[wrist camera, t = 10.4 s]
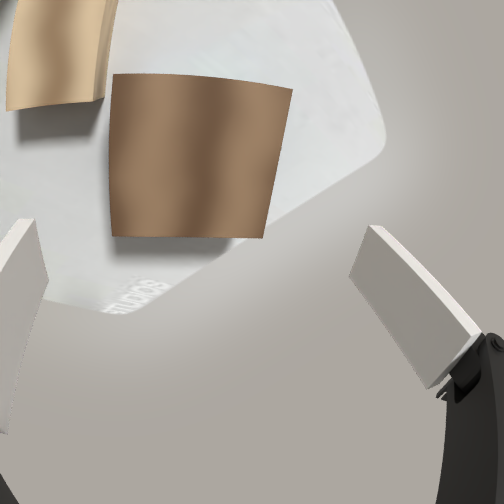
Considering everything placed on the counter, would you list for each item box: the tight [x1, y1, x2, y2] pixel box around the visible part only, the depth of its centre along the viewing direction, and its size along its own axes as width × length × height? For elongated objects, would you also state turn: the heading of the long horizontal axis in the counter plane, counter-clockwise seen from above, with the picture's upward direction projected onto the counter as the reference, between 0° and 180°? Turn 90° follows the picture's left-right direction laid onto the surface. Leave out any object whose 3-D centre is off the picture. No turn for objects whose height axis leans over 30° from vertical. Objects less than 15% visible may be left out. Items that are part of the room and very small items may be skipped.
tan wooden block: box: [6, 0, 118, 111], centre depth 14 cm, size 8×14×4 cm, turn 170°
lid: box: [109, 74, 293, 238], centre depth 21 cm, size 12×12×2 cm
